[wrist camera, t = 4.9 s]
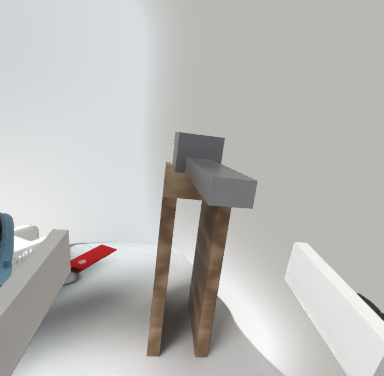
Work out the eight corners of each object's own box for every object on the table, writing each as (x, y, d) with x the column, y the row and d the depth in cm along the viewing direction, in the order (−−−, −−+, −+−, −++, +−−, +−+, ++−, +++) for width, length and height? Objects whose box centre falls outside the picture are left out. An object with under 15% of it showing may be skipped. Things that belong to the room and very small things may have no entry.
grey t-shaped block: (191, 203, 20) (200, 131, 19) (171, 165, 44) (174, 132, 43) (268, 209, 21) (281, 142, 20) (207, 169, 46) (212, 137, 44)
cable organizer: (37, 264, 60) (37, 220, 57) (69, 277, 56) (70, 231, 54) (-37, 298, 46) (-42, 243, 44) (-2, 319, 42) (-5, 259, 40)
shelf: (144, 380, 35) (164, 180, 29) (153, 292, 54) (166, 162, 48) (211, 381, 36) (243, 188, 30) (196, 294, 56) (214, 167, 49)
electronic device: (101, 245, 74) (59, 268, 60) (101, 244, 74) (59, 265, 60) (117, 250, 72) (76, 274, 58) (117, 249, 72) (76, 272, 58)
